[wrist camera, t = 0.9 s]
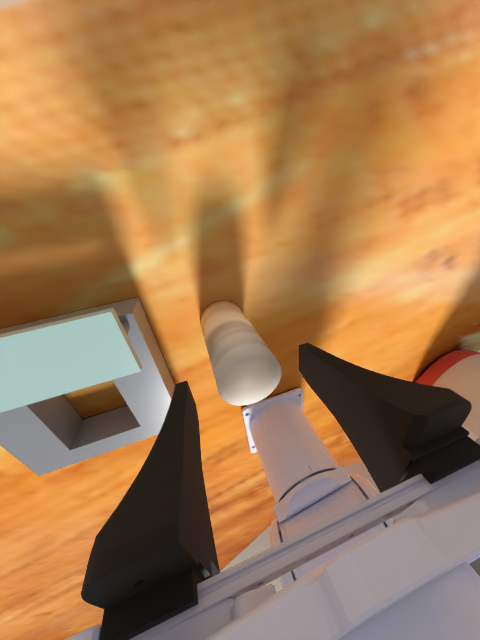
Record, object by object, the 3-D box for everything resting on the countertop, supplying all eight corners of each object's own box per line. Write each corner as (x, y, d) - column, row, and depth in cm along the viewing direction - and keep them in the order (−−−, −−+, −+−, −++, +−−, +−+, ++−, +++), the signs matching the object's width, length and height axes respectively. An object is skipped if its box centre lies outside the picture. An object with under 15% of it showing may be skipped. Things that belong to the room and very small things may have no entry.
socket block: (181, 400, 22) (185, 457, 17) (55, 442, 20) (16, 521, 15) (130, 278, 15) (111, 311, 10) (-67, 320, 13) (-214, 389, 8)
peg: (245, 332, 21) (282, 392, 14) (206, 344, 20) (224, 413, 13) (240, 295, 19) (280, 344, 12) (195, 307, 18) (211, 365, 11)
